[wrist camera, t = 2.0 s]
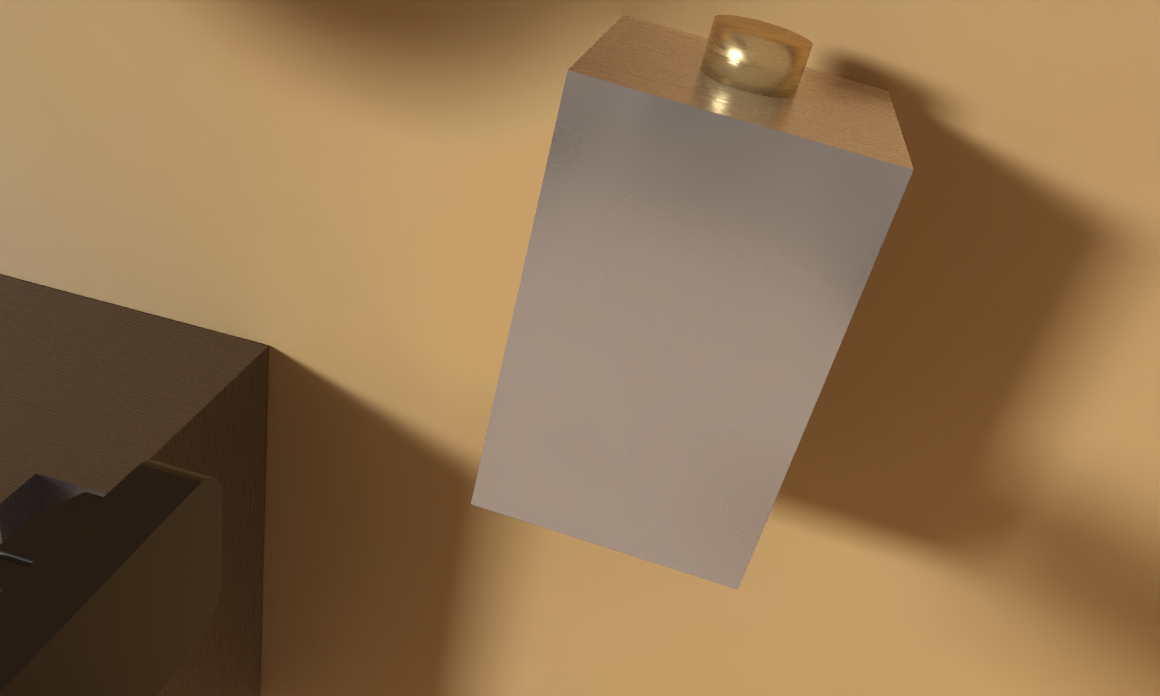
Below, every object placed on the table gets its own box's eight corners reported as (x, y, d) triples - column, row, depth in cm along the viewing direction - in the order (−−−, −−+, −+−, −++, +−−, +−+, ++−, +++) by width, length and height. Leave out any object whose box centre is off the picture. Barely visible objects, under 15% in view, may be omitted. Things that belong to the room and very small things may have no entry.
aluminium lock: (635, -32, 18) (580, 13, 14) (904, 44, 18) (937, 114, 13) (536, 372, 22) (470, 504, 18) (751, 439, 22) (737, 589, 18)
